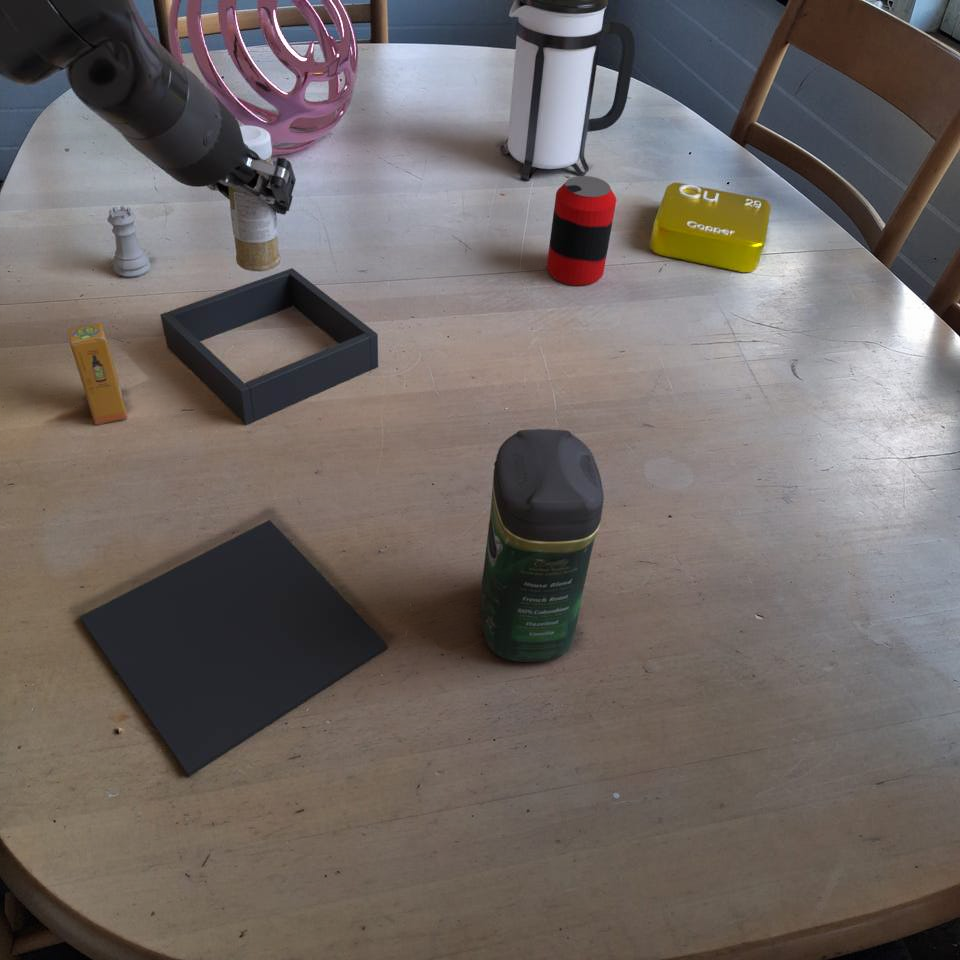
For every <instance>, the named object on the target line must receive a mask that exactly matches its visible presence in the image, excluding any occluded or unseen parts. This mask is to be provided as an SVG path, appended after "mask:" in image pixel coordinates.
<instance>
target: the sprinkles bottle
mask: <svg viewBox="0 0 960 960" xmlns="http://www.w3.org/2000/svg"><path fill="white" fill-rule="evenodd" d="M239 126H240V129H241V133H242V137H243V141H244V144H246V145H247V146H248V148H249V149H251V150H253V151H254V152H256V153H257V154H258V156H259V157H260V158H261V159H263V160H264V161H266V162H267V163H269V164H272V160H271V159H272V155H273V154H272V146H271V138H270V134H269V133H268V132H267V131H266V130H265V129H263V128H260V127H256V126H249V125H244V124H242V125H239ZM266 182H267V179H266V178H265V179H264V182H263V185H262V189H263V190H264V189H265V186H266ZM246 185H247V184H246ZM228 188H229V199H228V200H229V205H230V206H229V210H230V211H229V212H230V217H231V227H232V235H233V236H234V243H235V244H234V245H235V253H236V254H235V261H236V264H237V265H238V266H239V268H241V269H243V270H246V271H250V272H267V271H270V270H273V269H275V268H276V267H277V266H279V264H280V262H281V254H280V251H279V240H278V239H279V238H278V232H279V231H278V218H277V212H276V211H274V210H273V209H272V208H271V207H270V206H269V205H268V204H267V203H265V202H264V201H263V200H262V199H260V198H259V197H251V196H246V195H244V194H242V193H241V192H239V191H238V190H236V189H234V188H233V187H231V186H228Z"/></svg>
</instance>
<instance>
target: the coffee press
mask: <svg viewBox="0 0 960 960" xmlns="http://www.w3.org/2000/svg"><path fill="white" fill-rule="evenodd" d="M608 5H609V0H514V1H513V3H512V5H511V7H510V10H509V14H508V16H509V17H510V18H516V21H515V34H516V40H515V41H516V42H515V52H514V53H515V54H514V65H513V75H512V87H511V96H510V97H511V98H510V109H509V111H510V112H509V121H508V131H507V132H508V133H507V134H508V135H507V138H506V140H505V141H504V143H502V145H501V146H500V149H499V151H500V153H501V154H502V155H503V156H506V155H509V154H510V155H511V156H512V157H513V158H514V159H515V160H516V161H517V162H520V163H521V164H523V165H522V168H521V171H520V174H519V175H520V176H519V177H520V179H522V180H524V181H525V180H526V181H529V182H530V181H531V179H532V177H533V175H534V172H535V170H536V169H537V168H538V169H545V170H556V169H563V168H567V167H571V168H572V169H573V170H574V171H575V173H576V174H577V175H578V176H586V174H587V173H588V172H589V169H590V167H589V165H588V163H587V160H586V158H585V149H586V141H587V140H588V133H589V132H598V131H601V130H606V129H608V128H610V127H611V126H613V125H614V124H615V123H617V121H618V120H619V119H620V118H621V116H622V114H623V112H624V110H625V107H626V104H627V100H628V95H629V91H630V84H631V78H632V72H633V68H634V67H633V66H634V61H635V52H636V45H635V44H636V43H635V37H634V34H633V31H632V30H631V29H630V27H629V26H628V25H626V24H625V22H622V21H620V20H617V19H611V18H609V19H608V20H604V15H605V10H606V9H607V7H608ZM603 34H610V35H617V36H618V37H619V39H620V42H621V43H620V44H621V55H620V61H619V67H618V72H617V73H618V74H617V78H616V79H617V80H616V85H615V92H614V96H613V102H612V105H611V107H610V109H609V110H608V112H607V113H606V114H605V115H602V116H600V117H596V118H590V113H591V108H592V100H593V94H594V87H595V80H596V75H597V74H596V73H597V66H598V59H599V53H600V43H601V42H602V39H603ZM505 145H507V149H508V150H507V149H506V148H505ZM579 160H580V163H581V166H582V168H583V170H584V171H582V169H581V168H580V166H579V165H578V164H577V162H578V161H579Z"/></svg>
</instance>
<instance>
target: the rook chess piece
mask: <svg viewBox="0 0 960 960" xmlns="http://www.w3.org/2000/svg"><path fill="white" fill-rule="evenodd" d="M119 207H120V209H118V207H117V206H114V207H112V209H108V213H109V214H108V217H107V222H108V223H109V224H110V225H111V226H112V229H111V233H112V234H114V238H115V248H116V249H115V251H114V256H113V258H112V263H113V270H114V272H115V273H116V274H117V275H119V276H120V277H123V278H125V279H126V278H127V279H134V278H135V279H136V278H140V277H142V276H145V275H146V274H148V273H149V271H150V269H151V267H152V264H151V261H150V257H149V255H148V253H147V252H146V251H145V250H144V248H142V247H141V244H140V243H139V240H138V238H137V234H136V231H137V227H136V226H135V225H134V223H135V220H136V219H137V217H136V215H135V214H134V213H133V212H132V210H131V208H130V207H128V206H127V207H125V205H120V206H119Z"/></svg>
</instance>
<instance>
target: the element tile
mask: <svg viewBox="0 0 960 960" xmlns="http://www.w3.org/2000/svg"><path fill="white" fill-rule="evenodd" d="M771 208H772V207H771V204H770V203H769V202H768V200H766V199H764V198H760V197H755V196H749V195H744V194H739V193H734V192H729V191H724V190H719V189H713V188H709V187H703V186H698V185H693V184H688V183H682V182H672V183H669V184H668V185H667V186H666V188H665V191H664V194H663V196H662V199H661V201H660V205H659V208H658V210H657V213H656V216H655V219H654V222H653V226H652V232H651V236H650V241H649V248H650V250H651V251H652V252H653V253H654V254H656V255H659V256H662V257H666V258H670V259H675V260H681V261H686V262H691V263H695V264H700V265H705V266H709V267H715V268H718V269H724V270H729V271H732V272H733V271H734V272H738V273H751V272H754V271H756V270H757V269H758V267H759V265H760V262H761V261H760V260H761V257H762V254H763V252H764V251H763V250H764V248H765V244H766V240H767V234H768V228H769V223H770V222H769V220H770V214H771Z"/></svg>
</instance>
